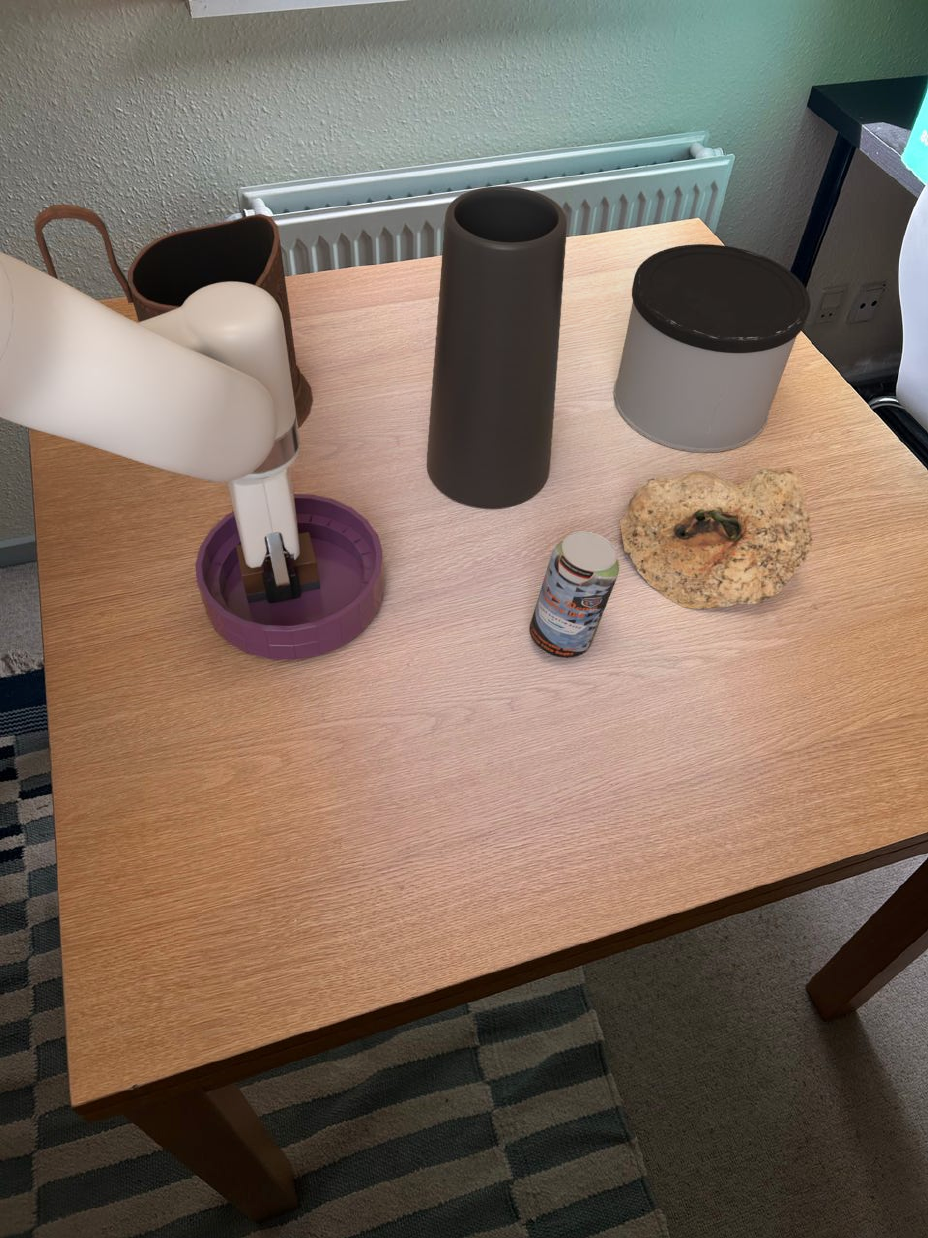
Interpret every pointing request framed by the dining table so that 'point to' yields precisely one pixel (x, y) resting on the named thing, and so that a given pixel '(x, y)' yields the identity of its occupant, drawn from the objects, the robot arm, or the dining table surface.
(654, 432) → the container
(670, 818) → the dining table surface
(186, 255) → the cup holder
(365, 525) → the bowl
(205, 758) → the dining table surface
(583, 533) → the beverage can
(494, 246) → the vase
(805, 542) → the beige rock
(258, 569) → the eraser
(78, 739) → the dining table surface
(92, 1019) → the dining table surface
